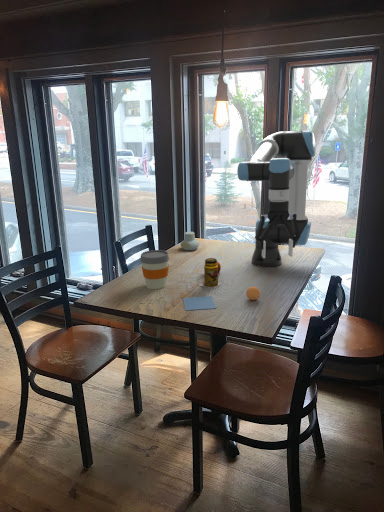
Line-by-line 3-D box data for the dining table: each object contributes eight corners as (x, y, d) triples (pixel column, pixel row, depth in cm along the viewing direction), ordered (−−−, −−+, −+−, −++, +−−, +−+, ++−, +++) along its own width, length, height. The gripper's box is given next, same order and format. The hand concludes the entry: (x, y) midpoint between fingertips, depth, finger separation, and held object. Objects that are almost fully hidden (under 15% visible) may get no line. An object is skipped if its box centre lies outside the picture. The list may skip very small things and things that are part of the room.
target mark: (211, 296, 167) (211, 296, 167) (216, 308, 156) (216, 308, 155) (183, 298, 166) (183, 298, 166) (185, 310, 155) (185, 310, 155)
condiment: (214, 288, 175) (214, 262, 172) (197, 285, 179) (197, 260, 176) (221, 283, 181) (221, 258, 178) (205, 280, 185) (204, 255, 182)
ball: (258, 296, 165) (258, 284, 164) (261, 301, 160) (261, 289, 158) (244, 297, 165) (244, 285, 163) (247, 302, 160) (247, 290, 158)
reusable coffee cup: (137, 285, 182) (134, 253, 178) (159, 278, 190) (157, 248, 185) (152, 293, 173) (150, 259, 169) (175, 285, 181) (174, 253, 176)
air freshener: (178, 249, 236) (177, 233, 233) (186, 246, 243) (186, 230, 240) (193, 252, 230) (193, 235, 227) (201, 248, 236) (201, 232, 233)
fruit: (223, 274, 188) (214, 260, 186) (209, 282, 190) (200, 268, 189) (225, 269, 195) (217, 255, 194) (212, 276, 198) (203, 263, 197)
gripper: (251, 203, 147) (250, 260, 154) (311, 200, 149) (308, 257, 155) (246, 200, 154) (246, 255, 161) (304, 197, 156) (301, 252, 162)
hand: (276, 256), depth 158 cm, fingers open, 10 cm apart
